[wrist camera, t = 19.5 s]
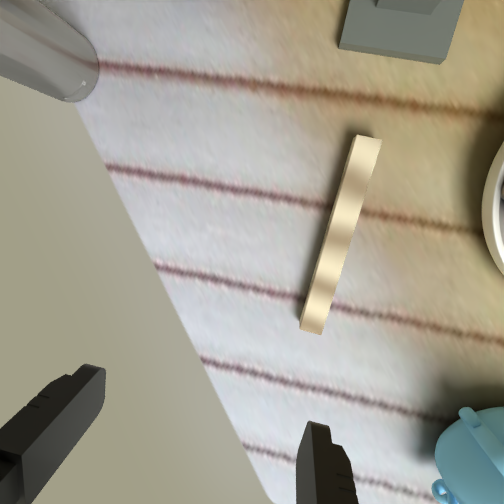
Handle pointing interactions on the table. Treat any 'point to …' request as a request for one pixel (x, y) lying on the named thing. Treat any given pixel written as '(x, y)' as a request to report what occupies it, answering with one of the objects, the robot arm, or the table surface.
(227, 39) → the table surface
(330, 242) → the birch rod
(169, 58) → the table surface
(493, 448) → the decorative pot
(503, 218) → the bowl
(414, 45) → the plant stand
